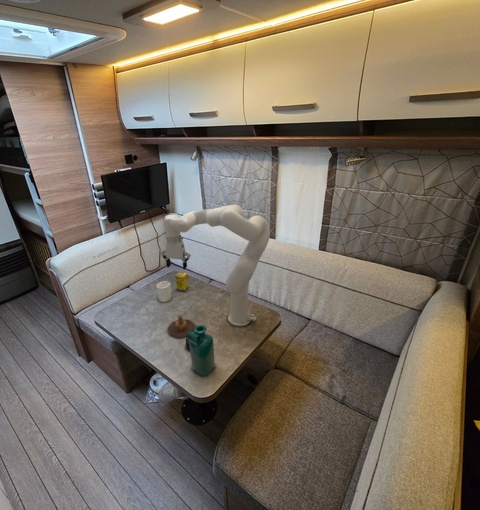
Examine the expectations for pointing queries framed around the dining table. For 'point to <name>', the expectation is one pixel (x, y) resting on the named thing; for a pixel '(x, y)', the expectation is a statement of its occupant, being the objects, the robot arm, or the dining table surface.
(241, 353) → the dining table surface
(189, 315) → the dining table surface
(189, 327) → the stand
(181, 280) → the supplement box
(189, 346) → the tape roll
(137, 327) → the dining table surface
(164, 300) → the mug
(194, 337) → the green bottle
